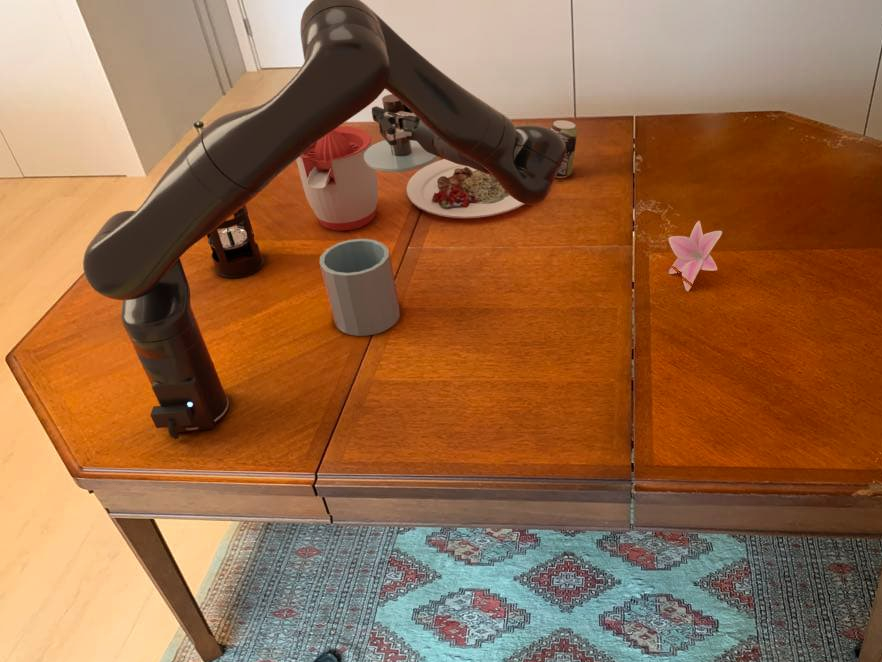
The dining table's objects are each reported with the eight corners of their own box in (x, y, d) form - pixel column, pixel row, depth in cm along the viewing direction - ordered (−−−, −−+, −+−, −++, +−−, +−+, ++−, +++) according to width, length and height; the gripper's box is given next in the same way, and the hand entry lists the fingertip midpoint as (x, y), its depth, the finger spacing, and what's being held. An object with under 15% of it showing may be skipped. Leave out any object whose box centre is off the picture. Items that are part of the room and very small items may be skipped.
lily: (667, 259, 157) (653, 229, 150) (726, 237, 154) (714, 206, 146) (680, 308, 151) (665, 280, 144) (741, 286, 148) (730, 257, 140)
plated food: (557, 166, 187) (557, 153, 185) (520, 231, 165) (519, 216, 163) (436, 156, 194) (434, 142, 191) (386, 216, 172) (383, 202, 170)
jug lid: (441, 171, 131) (433, 109, 124) (363, 179, 130) (350, 116, 123) (439, 140, 140) (431, 80, 133) (366, 146, 139) (355, 87, 132)
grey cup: (399, 332, 141) (388, 271, 133) (333, 339, 140) (317, 278, 132) (400, 295, 150) (389, 235, 141) (337, 301, 149) (322, 242, 141)
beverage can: (541, 172, 185) (539, 121, 177) (569, 165, 187) (569, 114, 179) (552, 183, 181) (551, 131, 173) (582, 176, 183) (582, 124, 175)
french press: (248, 282, 155) (212, 170, 139) (204, 278, 156) (163, 167, 141) (276, 250, 163) (244, 141, 148) (233, 247, 165) (198, 138, 150)
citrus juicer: (294, 237, 167) (269, 145, 154) (330, 198, 179) (309, 109, 166) (364, 244, 164) (345, 150, 150) (395, 203, 176) (380, 113, 163)
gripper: (486, 96, 123) (413, 73, 133) (415, 126, 116) (343, 99, 125) (490, 143, 128) (420, 117, 137) (423, 175, 121) (353, 145, 130)
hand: (384, 109), depth 131 cm, fingers closed on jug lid, 3 cm apart
